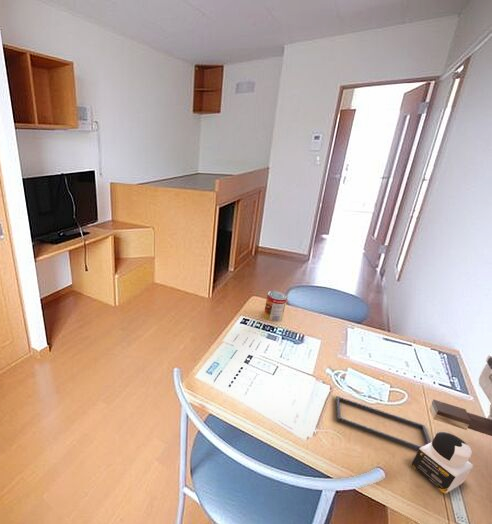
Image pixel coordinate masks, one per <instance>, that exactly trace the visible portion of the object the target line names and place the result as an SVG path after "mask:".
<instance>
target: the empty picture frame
mask: <svg viewBox="0 0 492 524" xmlns="http://www.w3.org/2000/svg"><path fill="white" fill-rule="evenodd" d="M340 403H343V404H346V405H349V406H351V407H355V408H358V409H361V410H362V411H363V410H364V411H367V412H369V413H372V414H375V415H378V416H381V417H384V418H386V419H389V420H393V421H395V422H398V423H402V424H404V425H407V426H410V427H413V428H416V429H419V430H420V431H421V434H422V437H423V440H424V444H425V445H427V444H428V443H430V442H431V439H430V437H429V434H428V432H427V429H426V426H425V424H422V423H418V422H416V421H412V420H409V419H406V418H404V417H401V416H398V415H395V414H391V413H389V412H386V411H383V410H380V409H377V408H374V407H371V406H368V405H365V404H361V403H359V402H356V401H352V400H350V399H347V398H344V397H341V396H338V395H336V397H335V409H336V410H335V411H336V413H335V414H336V422H338V423H340V424H344V425H346V426H349V427H352V428H355V429H356V430H357V429H358V430H360V431H363V432H366V433H368V434H371V435H374V436H376V437H379V438H381V439H384V440H388V441H390V442H393V443H396V444H398V445H401V446H404V447H406V448H410V449H412V450H415V451H417V452H418V450H419V449H420V448H421V447H422V446H420V445H418V444H415V443H412V442H410V441H407V440H404V439H401V438H398V437H396V436H393V435H391V434H388V433H386V432H382V431H379V430H377V429H374V428H371V427H368V426H366V425H362V424H360V423H358V422H354V421H351V420H349V419H346V418H343V417H341V408H340V406H341V405H340Z"/></svg>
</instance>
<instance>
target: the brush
mask: <svg viewBox="0 0 492 524" xmlns="http://www.w3.org/2000/svg"><path fill="white" fill-rule="evenodd" d="M428 408H429V412H430V415H431V417H432V419H433V420H434V421H438V422H441V423H443V424H446V425H450V426H452V427H456V428H459V429H462V430H465V431H467V430H471V431H474V432H477V433H480V434H484V435H486V436H490V437H492V420H491V419H487V418H488V417H484V416H481V415H478V414H474V413H471V412H467V409H466V408H463V407H461V406H460V407H459V406H458V405H454V404H450V403H447V402H443V401H440V400H437V399H432V401H431V404H430V406H429V407H428Z"/></svg>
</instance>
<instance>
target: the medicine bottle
mask: <svg viewBox="0 0 492 524" xmlns="http://www.w3.org/2000/svg"><path fill="white" fill-rule="evenodd" d="M472 455H473V452H472V449H471V447H470V446H469V444H468V443H467V442H465V441H464V440H463V439H461V438H460V437H458V436H457V435H454V434H452V433H449V432H445V431H443V432H442V431H439V432H437V433H436V434H435V435H434V438H433V439H432V441H430V443H428V444H427V445H426V444H425V445H422V446H421V448H420V449H419V450H418V451H417V452H416V454H415V456H414V458H413V460H412V462H411V464H410V467H411V468H412V469H414V470H415V471H416V472H417V473H419V474H420V475H421V476H422V477H423V478H425V479H426V480H427V481H428V482H429V483H431V484H432V485H433V486H434V487H435V488H437V489H438V490H439V491H440V492H441V493H443V494H444V495H447V494H448V493H449V492H451V491H452V490H454V489H456V488H457V487H459V486H460V485H462V484H463V483H464V481H465V480H466V479H467V477H468V475H469V474H470V472H471V471H472V469H473V468H474V464H473V463H471V462H470V461H469V460H470V458H471V456H472Z"/></svg>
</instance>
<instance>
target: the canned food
mask: <svg viewBox="0 0 492 524" xmlns="http://www.w3.org/2000/svg"><path fill="white" fill-rule="evenodd" d="M287 301H288V296H287V294H286V293H284V292H282V291H278V290H271V291H268V292H267V296H266V301H265V305H264V311H263V317H264V319H266V320H268V321H270V322H275V323H276V322H277V323H278V322H282V320H283V317H284V313H285V309H286V305H287Z"/></svg>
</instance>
